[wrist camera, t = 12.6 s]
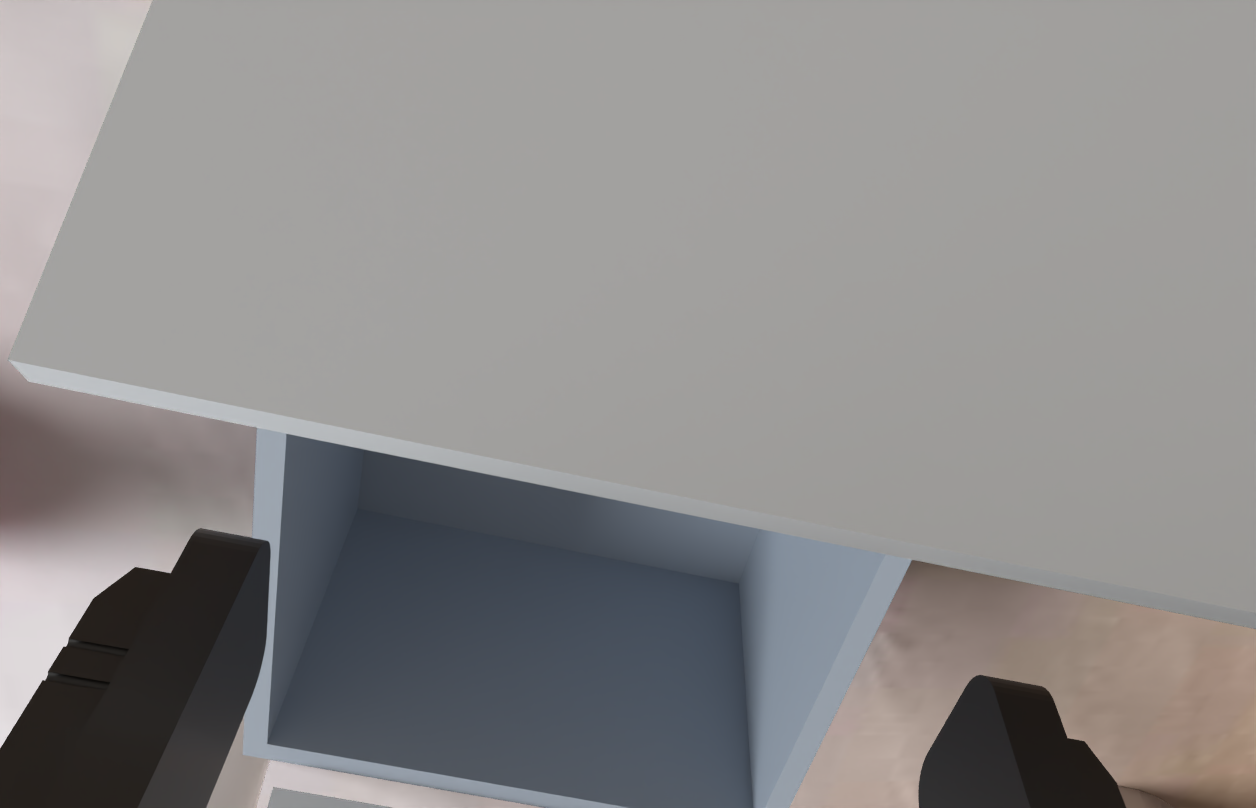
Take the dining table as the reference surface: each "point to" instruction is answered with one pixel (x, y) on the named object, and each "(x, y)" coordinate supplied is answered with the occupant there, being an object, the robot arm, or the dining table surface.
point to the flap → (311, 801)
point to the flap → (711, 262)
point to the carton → (544, 636)
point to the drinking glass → (239, 778)
